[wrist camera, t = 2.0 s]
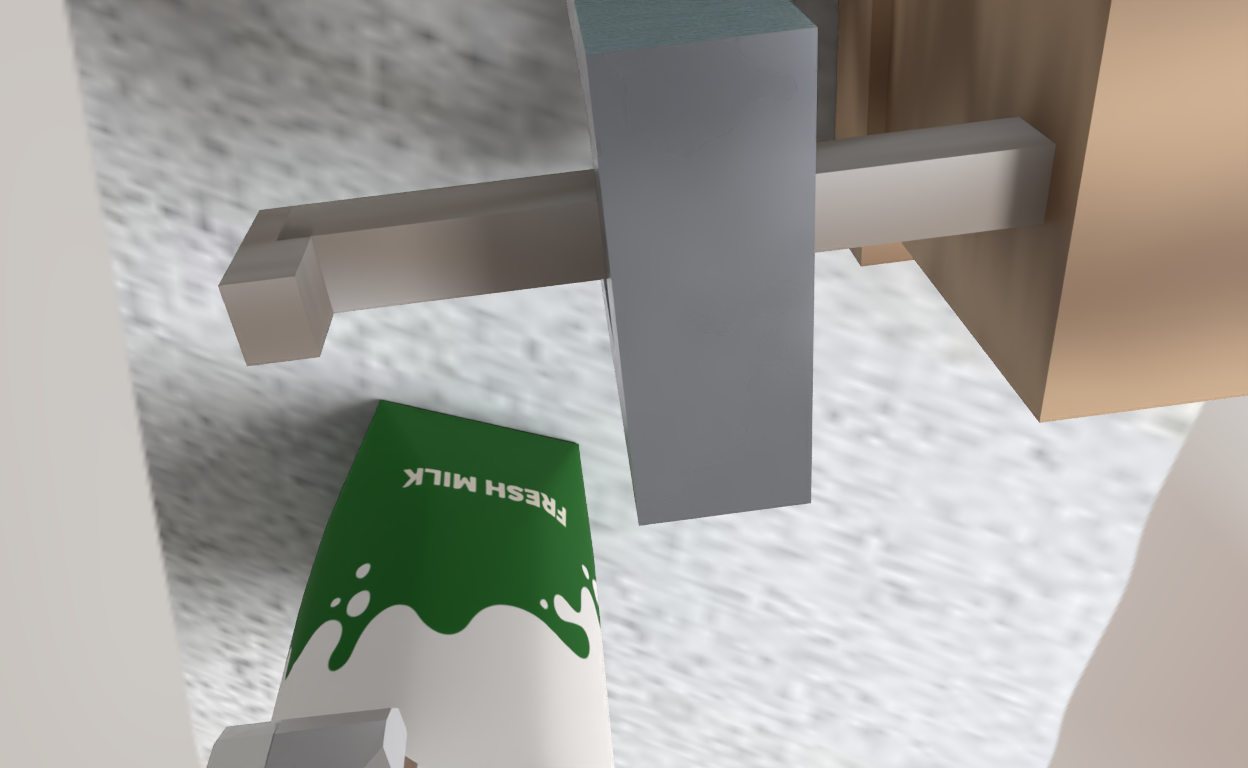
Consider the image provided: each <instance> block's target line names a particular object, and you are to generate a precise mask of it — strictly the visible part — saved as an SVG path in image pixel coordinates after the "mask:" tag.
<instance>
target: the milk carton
mask: <svg viewBox="0 0 1248 768" xmlns="http://www.w3.org/2000/svg"><path fill="white" fill-rule="evenodd" d="M385 708H399V711H400V713H401V716H402V719H403V721H404V724H405V727H406V729H407V741H406V750H405V756H406V757H408V758H409V759H411V760H413V761H414V762H416V763H418V766H419V768H614V761H613V751H612V740H611V730H610V719H609V709H608V699H607V688H606V678H605V668H604V657H603V647H602V636H601V626H600V616H599V605H598V595H597V586H596V576H595V564H594V556H593V548H592V540H591V533H590V526H589V518H588V511H587V504H586V497H585V489H584V482H583V475H582V467H581V460H580V452H579V444H576V443H571V442H566V441H562V440H557V439H553V438H548V437H544V436H539V435H535V434H531V433H526V432H522V431H517V430H513V429H508V428H504V427H499V426H495V425H490V424H486V423H481V422H477V421H472V420H468V419H463V418H459V417H454V416H450V415H446V414H441V413H437V412H432V411H428V410H423V409H419V408H414V407H410V406H405V405H401V404H396V403H392V402H387V401H383V400H381V401H380V403H379V405H378V407H377V410H376V412H375V414H374V417H373V419H372V421H371V423H370V426H369V428H368V430H367V432H366V435H365V437H364V439H363V442H362V444H361V446H360V448H359V451H358V453H357V455H356V457H355V460H354V462H353V464H352V467H351V469H350V471H349V474H348V476H347V478H346V480H345V483H344V485H343V487H342V490H341V492H340V494H339V497H338V499H337V502H336V504H335V506H334V509H333V511H332V514H331V516H330V519H329V521H328V523H327V526H326V528H325V531H324V534H323V537H322V540H321V543H320V546H319V549H318V552H317V555H316V558H315V561H314V564H313V567H312V570H311V573H310V576H309V579H308V582H307V586H306V589H305V592H304V595H303V599H302V602H301V606H300V609H299V613H298V617H297V621H296V625H295V629H294V633H293V637H292V640H291V644H290V648H289V652H288V656H287V660H286V664H285V668H284V672H283V676H282V680H281V684H280V688H279V692H278V696H277V700H276V704H275V708H274V712H273V716H272V720H271V721H279V720H284V719H293V718H302V717H311V716H320V715H330V714H339V713H348V712H357V711H367V710H376V709H385Z"/></svg>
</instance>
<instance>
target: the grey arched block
mask: <svg viewBox="0 0 1248 768" xmlns="http://www.w3.org/2000/svg"><path fill="white" fill-rule="evenodd" d="M566 3H567V10H568V15H569V21H570V26H571V31H572V37H573V42H574V47H575V53H576V58H577V63H578V69H579V74H580V79H581V84H582V90H583V95H584V100H585V106H586V111H587V116H588V124H589V133H590V141H591V150H592V158H593V167H594V176H595V184H596V193H597V202H598V210H599V219H600V228H601V236H602V245H603V253H604V262H605V271H606V279H602V280H601V285H602V291H603V298H604V304H605V310H606V317H607V323H608V330H609V336H610V343H611V349H612V355H613V362H614V368H615V375H616V381H617V387H618V394H619V400H620V407H621V413H622V420H623V426H624V432H625V439H626V445H627V452H628V458H629V465H630V471H631V477H632V484H633V490H634V497H635V503H636V509H637V516H638V522H639V526H640V525H648V524H656V523H663V522H671V521H678V520H686V519H693V518H701V517H709V516H716V515H724V514H731V513H739V512H746V511H754V510H761V509H769V508H777V507H784V506H792V505H799V504H807V503H811V465H812V396H813V327H814V259H815V190H816V121H817V52H818V27H817V26H816V25H815V24H814V23H813V22H812V21H811V20H810V19H809V18H808V17H807V16H806V15H805V14H804V13H802V12H801V11H800V10H799V9H798V8H797V7H796V6H795V5H794V4H793V3H792V2H791V1H790V0H566Z"/></svg>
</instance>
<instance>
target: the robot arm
mask: <svg viewBox="0 0 1248 768" xmlns="http://www.w3.org/2000/svg"><path fill="white" fill-rule="evenodd" d="M406 741H407V729H406V727H405V724H404V721H403V719H402V716H401V713H400V711H399V708H385V709H376V710H367V711H357V712H348V713H339V714H330V715H320V716H311V717H302V718H293V719H284V720H279V721H270V722H262V723H254V724H245V725H237V726H229V727H226V728H225V729H224V731H223V732H222V734H221V735H220V737H219V738H218V739H217V741H216V742H215V744H214V746H213V749H212V752H211V755H210V758H209V761H208V765H207V768H419V766H418V763H416V762H414V761H413V760H411V759H409V758H408V757H406V756H405V750H406Z"/></svg>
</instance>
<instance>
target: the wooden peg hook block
mask: <svg viewBox="0 0 1248 768" xmlns="http://www.w3.org/2000/svg"><path fill="white" fill-rule="evenodd" d="M848 248H849V249H850V250H851V252H852V253H853V255H854V257H855V258H856V260H857V261H858V263H859V264H860V266H868V265H876V264H884V263H892V262H900V261H908V260H915V261H916V262H917V264H918V265H919V266H920V268H921V269H922V270H923V272H924V273H925V274H926V275H927V277H928V278H929V279H930V281H931V282H932V283H933V285H934V286H935V287H936V288H937V290H938V291H939V292H940V294H941V295H942V296H943V298H944V299H945V300H946V302H947V303H948V304H949V305H950V307H951V308H952V309H953V311H954V312H955V313H956V315H957V316H958V317H959V318H960V320H961V321H962V322H963V324H964V325H965V326H966V328H967V329H968V330H969V331H970V333H971V334H972V335H973V337H974V338H975V339H976V341H977V342H978V343H979V345H980V346H981V347H982V348H983V350H984V351H985V352H986V354H987V355H988V356H989V358H990V359H991V360H992V361H993V363H994V364H995V365H996V367H997V368H998V369H999V371H1000V372H1001V373H1002V374H1003V376H1004V377H1005V378H1006V380H1007V381H1008V382H1009V384H1010V385H1011V386H1012V387H1013V389H1014V390H1015V391H1016V393H1017V394H1018V395H1019V397H1020V398H1021V399H1022V401H1023V402H1024V403H1025V404H1026V406H1027V407H1028V408H1029V410H1030V411H1031V412H1032V414H1033V415H1034V416H1035V417H1036V419H1037V420H1038V421H1039V423H1041V422H1048V421H1056V420H1064V419H1071V418H1079V417H1087V416H1094V415H1102V414H1109V413H1117V412H1125V411H1132V410H1140V409H1148V408H1155V407H1163V406H1171V405H1178V404H1186V403H1193V402H1201V401H1208V400H1216V399H1223V398H1232V397H1239V396H1247V395H1248V0H839V9H838V48H837V88H836V127H835V139H834V140H826V141H818V142H816V190H815V253H816V252H824V251H832V250H840V249H848ZM602 279H606V271H605V262H604V253H603V245H602V236H601V228H600V219H599V210H598V202H597V193H596V184H595V176H594V169H590V170H582V171H574V172H566V173H558V174H550V175H542V176H534V177H525V178H517V179H509V180H501V181H493V182H485V183H477V184H469V185H460V186H452V187H444V188H436V189H428V190H420V191H412V192H404V193H395V194H387V195H379V196H371V197H363V198H355V199H347V200H338V201H330V202H322V203H314V204H306V205H298V206H290V207H282V208H273V209H265V210H260V211H259V213H258V214H257V216H256V218H255V220H254V222H253V223H252V225H251V227H250V229H249V231H248V233H247V234H246V236H245V238H244V240H243V242H242V243H241V245H240V247H239V249H238V251H237V253H236V254H235V256H234V258H233V260H232V262H231V264H230V265H229V267H228V269H227V271H226V273H225V274H224V276H223V278H222V280H221V282H220V284H219V285H218V287H219V289H220V292H221V295H222V298H223V301H224V303H225V306H226V309H227V312H228V314H229V317H230V320H231V323H232V326H233V328H234V331H235V334H236V337H237V339H238V342H239V345H240V348H241V350H242V353H243V356H244V359H245V362H246V364H247V366H253V365H260V364H268V363H276V362H284V361H292V360H300V359H308V358H316V357H320V355H321V351H322V348H323V345H324V342H325V339H326V336H327V333H328V330H329V326H330V323H331V320H332V317H333V314H334V313H339V312H347V311H355V310H363V309H371V308H379V307H387V306H395V305H403V304H411V303H419V302H427V301H435V300H443V299H451V298H459V297H467V296H474V295H482V294H490V293H498V292H506V291H514V290H522V289H530V288H538V287H546V286H554V285H562V284H570V283H578V282H586V281H594V280H602Z"/></svg>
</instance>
